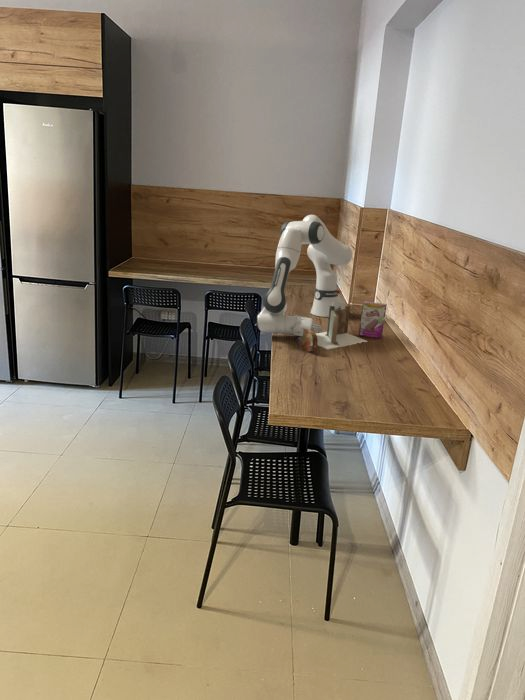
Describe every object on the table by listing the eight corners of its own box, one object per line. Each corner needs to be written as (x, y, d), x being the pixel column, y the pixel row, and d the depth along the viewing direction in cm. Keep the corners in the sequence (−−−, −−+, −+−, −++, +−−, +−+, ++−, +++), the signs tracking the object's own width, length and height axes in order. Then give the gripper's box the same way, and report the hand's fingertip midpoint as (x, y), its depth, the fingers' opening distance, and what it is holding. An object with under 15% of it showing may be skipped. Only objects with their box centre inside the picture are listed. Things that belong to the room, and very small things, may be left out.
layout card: (337, 330, 263) (337, 329, 263) (367, 341, 248) (367, 340, 248) (297, 337, 248) (297, 336, 248) (327, 349, 233) (327, 348, 233)
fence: (344, 331, 261) (347, 303, 256) (348, 332, 259) (351, 304, 254) (325, 334, 253) (328, 306, 249) (329, 336, 251) (332, 307, 247)
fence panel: (327, 334, 251) (330, 309, 247) (331, 335, 251) (334, 309, 247) (331, 343, 238) (334, 316, 234) (335, 344, 238) (338, 317, 234)
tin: (296, 343, 239) (298, 325, 236) (302, 343, 240) (304, 325, 237) (311, 354, 225) (312, 335, 223) (317, 354, 227) (319, 335, 224)
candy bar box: (358, 335, 256) (362, 302, 251) (359, 333, 261) (363, 300, 256) (381, 339, 254) (386, 305, 249) (382, 336, 258) (387, 303, 253)
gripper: (290, 324, 233) (321, 327, 231) (294, 313, 252) (323, 316, 250) (289, 338, 235) (320, 341, 233) (293, 326, 254) (321, 329, 252)
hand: (321, 328), depth 242 cm, fingers closed
